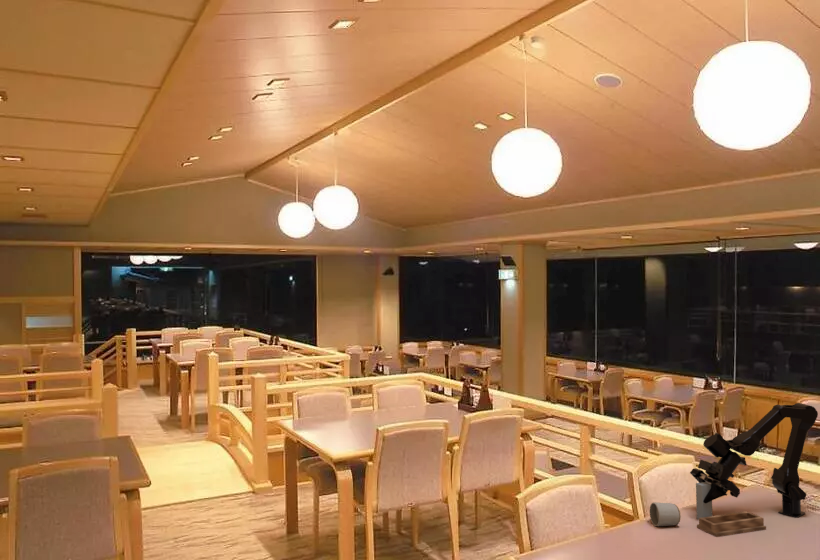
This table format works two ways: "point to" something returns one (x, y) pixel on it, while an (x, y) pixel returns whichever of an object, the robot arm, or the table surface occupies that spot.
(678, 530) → the table surface
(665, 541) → the table surface
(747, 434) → the robot arm
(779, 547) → the table surface
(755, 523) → the open rectangular wooden box
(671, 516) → the ceramic mug
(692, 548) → the table surface
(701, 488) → the tall grey pillar block
